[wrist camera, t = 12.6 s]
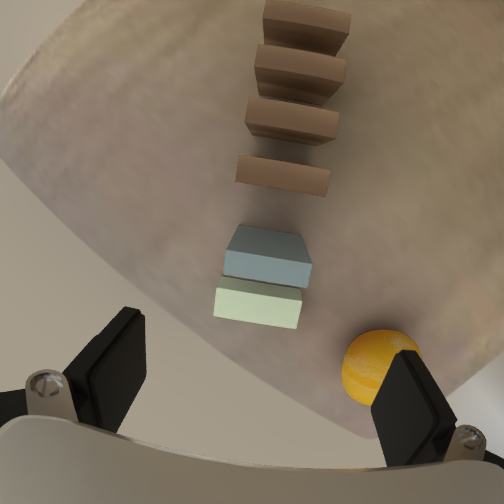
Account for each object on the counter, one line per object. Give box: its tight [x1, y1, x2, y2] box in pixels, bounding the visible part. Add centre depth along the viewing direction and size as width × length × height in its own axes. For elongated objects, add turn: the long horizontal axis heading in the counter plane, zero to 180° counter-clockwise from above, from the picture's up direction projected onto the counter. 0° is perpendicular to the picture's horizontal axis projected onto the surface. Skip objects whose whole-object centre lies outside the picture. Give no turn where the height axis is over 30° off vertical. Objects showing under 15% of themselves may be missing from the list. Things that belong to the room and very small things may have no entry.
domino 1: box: [263, 0, 351, 57], centre depth 21 cm, size 2×6×9 cm, turn 82°
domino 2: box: [254, 44, 346, 106], centre depth 22 cm, size 2×6×9 cm, turn 81°
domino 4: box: [235, 155, 330, 197], centre depth 24 cm, size 2×6×9 cm, turn 81°
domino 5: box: [223, 225, 312, 288], centre depth 26 cm, size 2×6×9 cm, turn 81°
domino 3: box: [245, 97, 340, 146], centre depth 23 cm, size 2×6×9 cm, turn 81°
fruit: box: [341, 329, 422, 406], centre depth 29 cm, size 9×8×8 cm
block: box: [213, 276, 302, 329], centre depth 31 cm, size 3×8×3 cm, turn 81°
